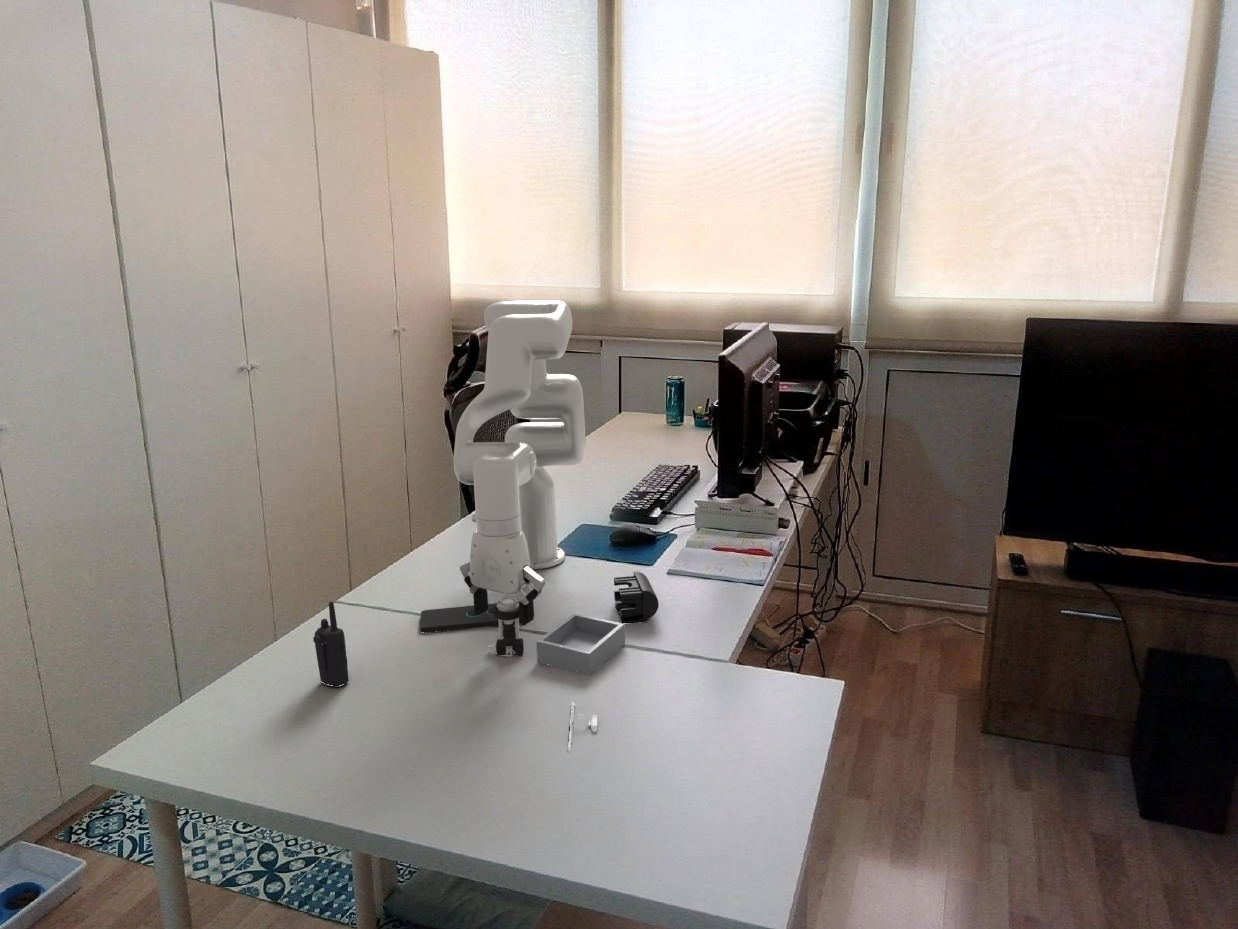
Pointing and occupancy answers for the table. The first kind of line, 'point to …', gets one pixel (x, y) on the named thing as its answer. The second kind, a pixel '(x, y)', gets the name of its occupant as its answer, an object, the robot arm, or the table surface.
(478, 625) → the smart home device
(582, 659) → the rectangular tray
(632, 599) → the end cap
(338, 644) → the two-way radio
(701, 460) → the table surface
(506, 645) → the push button
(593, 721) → the picture light
